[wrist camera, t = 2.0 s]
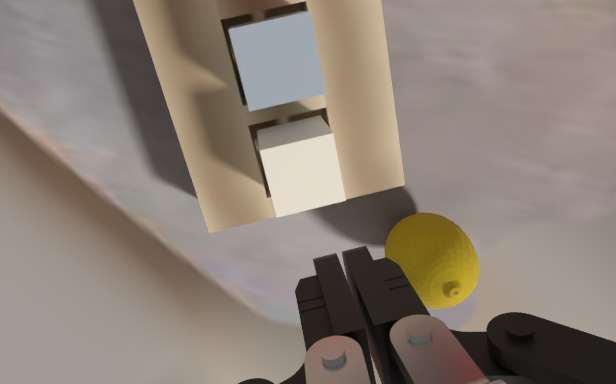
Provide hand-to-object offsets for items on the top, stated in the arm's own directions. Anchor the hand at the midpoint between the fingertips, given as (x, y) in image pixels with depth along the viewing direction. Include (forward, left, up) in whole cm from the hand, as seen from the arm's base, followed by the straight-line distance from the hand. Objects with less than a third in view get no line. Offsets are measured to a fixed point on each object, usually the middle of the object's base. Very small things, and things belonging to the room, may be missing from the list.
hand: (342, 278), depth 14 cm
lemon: (-7, +9, -17) cm, 21 cm away
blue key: (0, -6, -13) cm, 14 cm away
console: (0, -6, -17) cm, 18 cm away
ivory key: (0, 0, -13) cm, 13 cm away
